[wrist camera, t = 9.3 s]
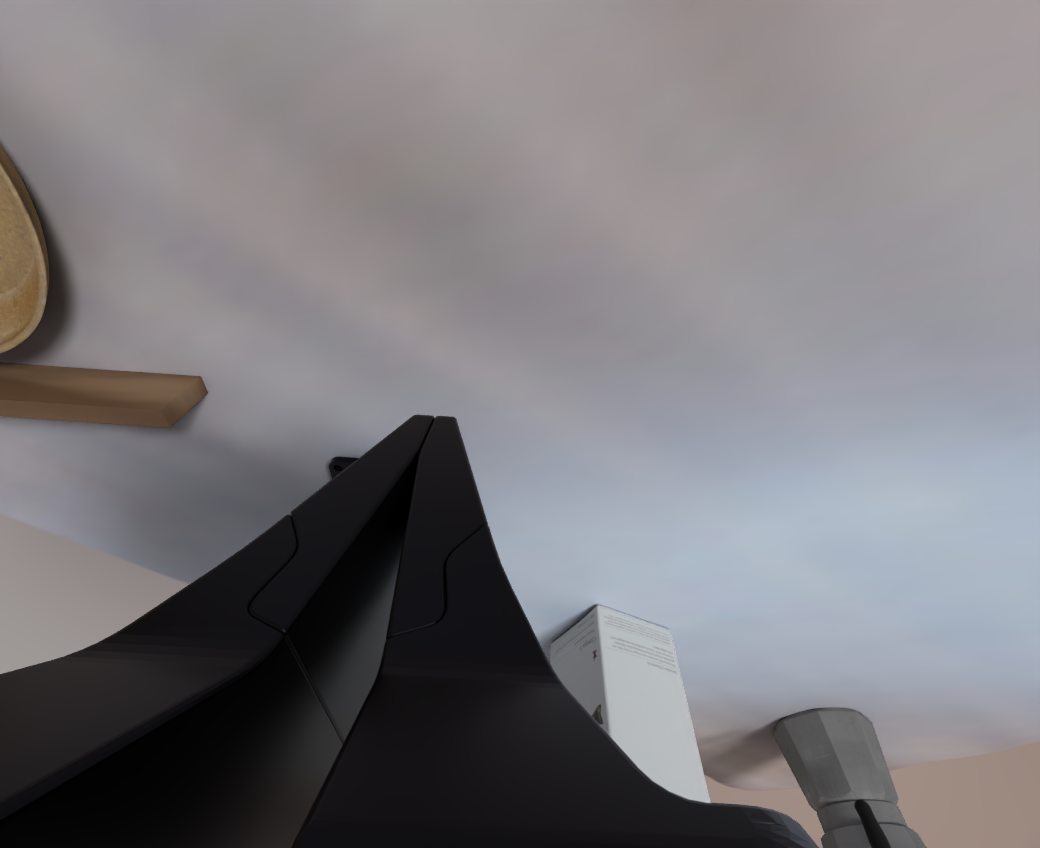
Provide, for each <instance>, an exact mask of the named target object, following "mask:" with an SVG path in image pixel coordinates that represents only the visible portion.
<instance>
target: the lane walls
mask: <svg viewBox="0 0 1040 848" xmlns="http://www.w3.org/2000/svg"><path fill="white" fill-rule="evenodd" d="M207 393H208V392H207V390H206V387H205V385H204V383H203V380H202V378H201V377H200V376H186V375H171V374H156V373H142V372H127V371H112V370H98V369H83V368H68V367H54V366H39V365H24V364H10V363H0V416H4V417H18V418H33V419H48V420H63V421H78V422H93V423H108V424H122V425H137V426H152V427H167V428H171V427H172V426H173V425H174V424H175V423H176V422H177V421H178V420H179V419H180V418H182V417H183V416H184V415H185V414H186V413H187V412H188V411H189V410H190V409H191V408H192V407H193V406H194V405H195V404H197V403H198V402H199V401H200V400H201V399H202V398H203V397H204V396H205V395H206V394H207Z"/></svg>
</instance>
